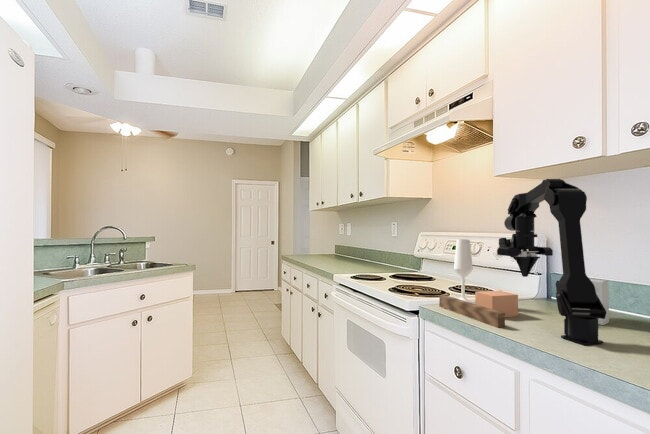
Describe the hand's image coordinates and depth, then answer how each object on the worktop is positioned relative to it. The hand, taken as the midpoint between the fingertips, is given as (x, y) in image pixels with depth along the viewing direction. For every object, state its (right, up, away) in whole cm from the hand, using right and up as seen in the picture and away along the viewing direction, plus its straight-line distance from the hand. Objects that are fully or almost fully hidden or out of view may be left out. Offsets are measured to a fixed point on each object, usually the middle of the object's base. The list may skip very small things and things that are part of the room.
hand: (524, 276), depth 122 cm
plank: (-22, -12, -7) cm, 26 cm away
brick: (-12, -12, -4) cm, 17 cm away
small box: (+14, -12, -12) cm, 22 cm away
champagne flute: (-16, -12, +14) cm, 24 cm away
